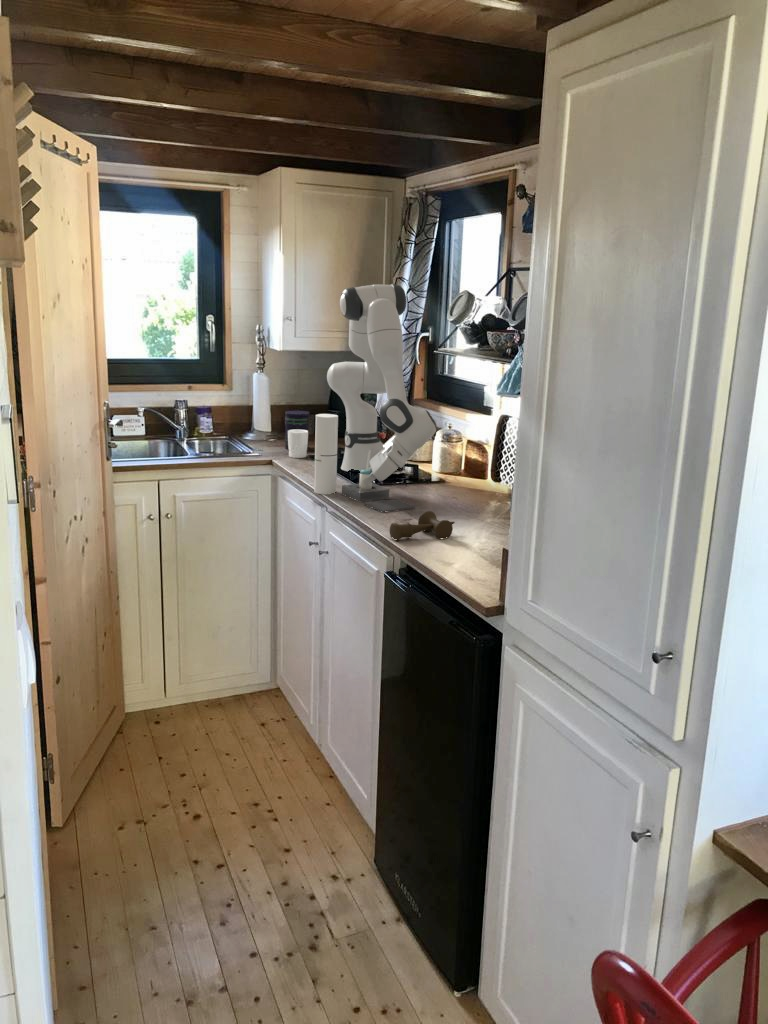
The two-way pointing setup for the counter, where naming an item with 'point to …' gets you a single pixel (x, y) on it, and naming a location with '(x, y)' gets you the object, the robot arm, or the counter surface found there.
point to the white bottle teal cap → (364, 474)
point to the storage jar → (296, 423)
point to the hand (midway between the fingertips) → (363, 481)
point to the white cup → (297, 443)
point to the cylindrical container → (326, 453)
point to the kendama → (422, 527)
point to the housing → (365, 492)
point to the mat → (390, 505)
